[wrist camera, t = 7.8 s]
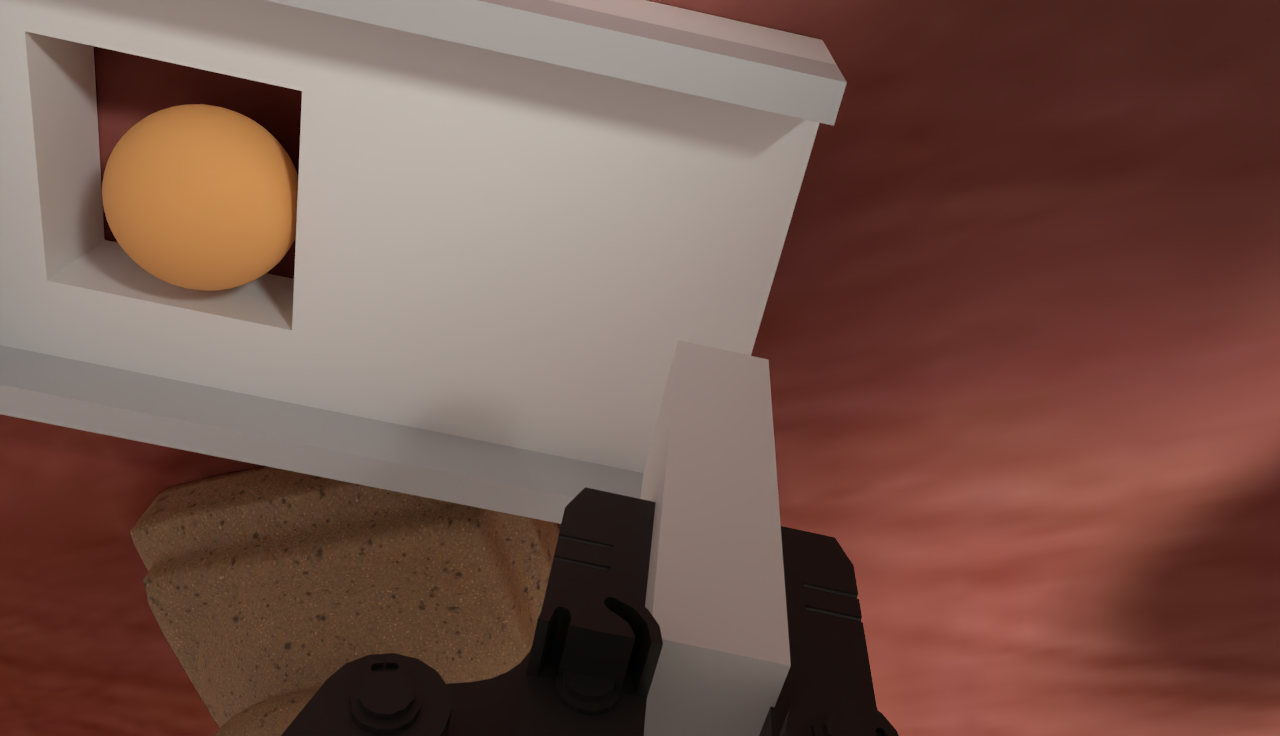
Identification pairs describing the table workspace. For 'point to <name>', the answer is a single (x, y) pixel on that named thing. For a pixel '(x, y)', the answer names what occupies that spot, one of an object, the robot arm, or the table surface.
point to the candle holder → (332, 586)
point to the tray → (416, 235)
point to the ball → (201, 197)
